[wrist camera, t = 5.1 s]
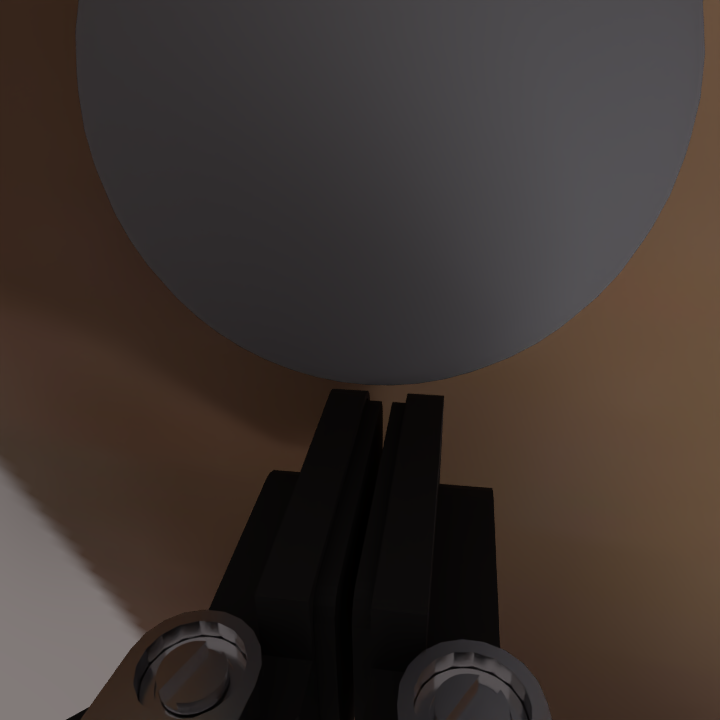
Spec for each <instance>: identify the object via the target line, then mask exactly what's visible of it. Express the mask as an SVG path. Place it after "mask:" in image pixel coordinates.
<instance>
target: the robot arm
mask: <svg viewBox="0 0 720 720" xmlns="http://www.w3.org/2000/svg"><path fill="white" fill-rule="evenodd" d="M443 408H444V396H438V395H423V394H407V399H406V403H398V402H393V403H392V407H391V412H390V417H389V422H388V426H387V431H386V436H385V441H384V446H383V408H382V401H370V396H369V392H368V391H361V390H345V389H332V390H331V392H330V394H329V397H328V399H327V402H326V405H325V407H324V410H323V413H322V416H321V418H320V421H319V424H318V426H317V429H316V432H315V434H314V437H313V440H312V442H311V445H310V448H309V450H308V453H307V456H306V458H305V461H304V464H303V467H302V469H301V472H290V471H278V470H273V471H272V472H270V474H269V475H268V477H267V479H266V481H265V483H264V485H263V488H262V490H261V492H260V495H259V497H258V499H257V501H256V504H255V506H254V508H253V510H252V513H251V515H250V517H249V520H248V522H247V524H246V526H245V529H244V531H243V533H242V535H241V538H240V540H239V542H238V545H237V547H236V549H235V551H234V554H233V556H232V558H231V560H230V563H229V565H228V567H227V570H226V572H225V574H224V576H223V579H222V581H221V583H220V586H219V588H218V590H217V592H216V595H215V597H214V599H213V601H212V604H211V606H210V608H209V610H199V611H192V612H186V613H182V614H180V615H177V616H175V617H172V618H169V619H167V620H164V621H163V622H161V623H160V624H158V625H157V626H155V627H154V628H152V629H151V630H149V631H148V632H146V633H145V634H144V635H143V636H142V638H141V639H140V640H139V641H138V642H137V643H136V644H135V645H134V646H133V647H132V648H131V650H130V651H129V652H128V654H127V655H126V656H125V658H124V659H123V661H122V662H121V663H120V665H119V666H118V668H117V669H116V670H115V672H114V674H113V675H112V676H111V678H110V679H109V680H108V682H107V683H106V684H105V686H104V687H103V689H102V690H101V691H100V693H99V694H98V696H97V697H96V699H95V700H94V701H93V703H92V704H91V706H90V707H88V708H86V709H85V710H83V711H81V712H79V713H78V714H76V715H74V716H72V717H70V718H68V719H67V720H354V716H355V720H552V718H551V714H550V711H549V707H548V703H547V701H546V698H545V696H544V694H543V691H542V689H541V687H540V685H539V682H538V681H537V679H536V678H535V677H534V676H533V675H532V673H531V672H530V671H529V670H528V669H527V667H526V666H525V665H524V664H523V663H522V662H520V661H519V660H518V659H516V658H515V657H513V656H512V655H511V654H509V653H508V652H506V651H505V650H503V649H500V639H499V616H498V592H497V569H496V545H495V522H494V499H493V490H492V488H483V487H470V486H458V485H446V484H440V465H441V446H442V427H443Z"/></svg>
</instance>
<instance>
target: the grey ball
mask: <svg viewBox="0 0 720 720" xmlns="http://www.w3.org/2000/svg"><path fill="white" fill-rule="evenodd" d="M75 33H76V65H77V81H78V93H79V99H80V105H81V112H82V118H83V124H84V130H85V133H86V137H87V140H88V144H89V147H90V151H91V154H92V158H93V161H94V164H95V167H96V169H97V172H98V174H99V177H100V179H101V182H102V184H103V186H104V189H105V191H106V194H107V196H108V198H109V201H110V203H111V205H112V208H113V210H114V212H115V214H116V216H117V218H118V220H119V221H120V223H121V225H122V227H123V228H124V230H125V232H126V234H127V236H128V237H129V239H130V241H131V242H132V243H133V245H134V246H135V248H136V249H137V251H138V252H139V253H140V255H141V256H142V258H143V259H144V260H145V262H146V263H147V265H148V266H149V267H150V268H151V269H152V270H153V271H154V273H155V274H156V275H157V276H158V277H159V278H160V279H161V281H162V282H163V283H164V284H165V285H166V286H167V287H168V289H169V290H170V291H171V292H172V293H173V294H174V295H175V296H176V297H177V298H178V299H179V300H180V301H181V302H182V303H183V304H184V305H185V306H186V307H187V308H188V309H189V310H191V311H192V312H193V313H194V314H195V315H196V316H197V317H198V318H200V319H201V320H202V321H204V322H205V323H206V324H208V325H209V326H210V327H211V328H213V329H214V330H215V331H217V332H218V333H220V334H221V335H223V336H224V337H226V338H228V339H229V340H231V341H232V342H234V343H235V344H237V345H239V346H240V347H242V348H244V349H246V350H248V351H250V352H252V353H254V354H256V355H258V356H260V357H262V358H264V359H266V360H268V361H271V362H273V363H276V364H278V365H281V366H283V367H286V368H289V369H291V370H295V371H298V372H302V373H305V374H308V375H312V376H315V377H320V378H325V379H330V380H334V381H339V382H347V383H356V384H365V385H403V384H417V383H424V382H430V381H436V380H442V379H447V378H450V377H454V376H458V375H461V374H465V373H469V372H472V371H475V370H478V369H481V368H484V367H486V366H489V365H491V364H494V363H496V362H499V361H502V360H504V359H507V358H509V357H511V356H513V355H515V354H517V353H519V352H521V351H523V350H525V349H527V348H529V347H531V346H533V345H535V344H536V343H538V342H539V341H541V340H542V339H544V338H545V337H547V336H548V335H550V334H551V333H553V332H554V331H556V330H557V329H559V328H560V327H562V326H563V325H564V324H565V323H566V322H568V321H569V320H570V319H571V318H573V317H574V316H575V315H576V314H577V313H579V312H580V311H581V310H582V309H583V308H585V307H586V306H587V305H588V304H589V303H591V302H592V301H593V300H594V299H595V298H596V297H598V296H599V294H600V293H601V292H602V291H603V290H604V289H605V288H606V287H607V286H608V285H609V284H610V283H611V282H612V281H613V280H614V278H615V277H616V276H617V275H618V274H619V273H620V272H621V271H622V269H623V268H624V267H625V265H626V264H627V262H628V261H629V260H630V258H631V257H632V256H633V254H634V253H635V251H636V250H637V249H638V247H639V246H640V245H641V243H642V242H643V240H644V239H645V237H646V236H647V234H648V233H649V231H650V230H651V228H652V227H653V225H654V223H655V221H656V219H657V218H658V216H659V214H660V212H661V210H662V208H663V207H664V205H665V203H666V201H667V199H668V198H669V196H670V194H671V191H672V188H673V186H674V183H675V181H676V178H677V176H678V173H679V171H680V168H681V166H682V163H683V160H684V158H685V155H686V151H687V148H688V145H689V141H690V138H691V134H692V130H693V126H694V122H695V118H696V113H697V109H698V105H699V101H700V96H701V86H702V76H703V67H704V57H705V45H704V19H703V0H79V3H78V12H77V22H76V32H75Z"/></svg>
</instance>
